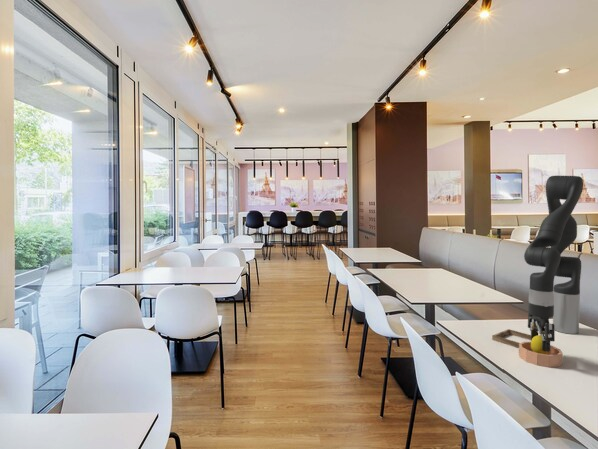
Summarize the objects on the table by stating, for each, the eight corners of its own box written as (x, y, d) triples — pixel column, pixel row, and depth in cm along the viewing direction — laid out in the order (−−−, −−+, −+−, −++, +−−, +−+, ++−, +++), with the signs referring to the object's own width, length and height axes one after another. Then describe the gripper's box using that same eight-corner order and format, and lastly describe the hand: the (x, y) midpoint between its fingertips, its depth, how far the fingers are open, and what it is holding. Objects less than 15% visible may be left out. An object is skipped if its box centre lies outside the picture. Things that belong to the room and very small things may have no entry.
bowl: (528, 349, 133) (528, 339, 133) (567, 361, 122) (567, 350, 122) (512, 357, 126) (512, 346, 126) (552, 370, 115) (552, 358, 115)
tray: (508, 333, 150) (508, 329, 150) (543, 343, 139) (543, 338, 139) (492, 339, 143) (492, 335, 143) (528, 350, 131) (528, 346, 131)
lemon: (551, 360, 121) (552, 338, 121) (534, 359, 122) (535, 337, 122) (544, 353, 126) (544, 332, 126) (527, 352, 128) (528, 331, 127)
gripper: (520, 296, 131) (520, 338, 132) (539, 307, 117) (538, 353, 118) (542, 297, 129) (541, 339, 130) (563, 308, 115) (562, 355, 116)
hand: (540, 346), depth 124 cm, fingers open, 8 cm apart
